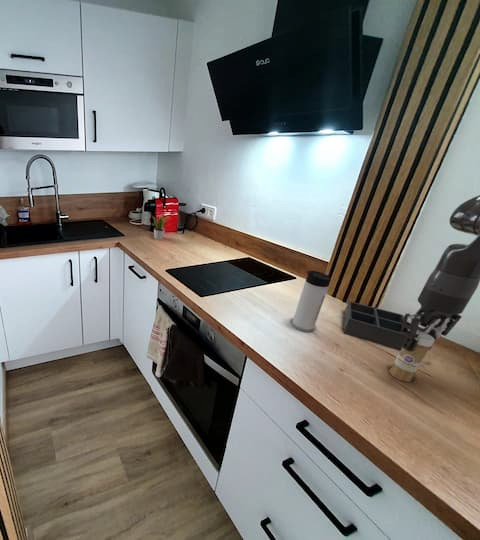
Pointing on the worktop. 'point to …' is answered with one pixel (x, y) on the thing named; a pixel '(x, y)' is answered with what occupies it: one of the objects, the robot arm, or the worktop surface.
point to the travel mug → (311, 301)
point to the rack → (374, 325)
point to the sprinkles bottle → (411, 359)
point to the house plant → (159, 227)
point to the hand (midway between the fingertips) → (415, 348)
